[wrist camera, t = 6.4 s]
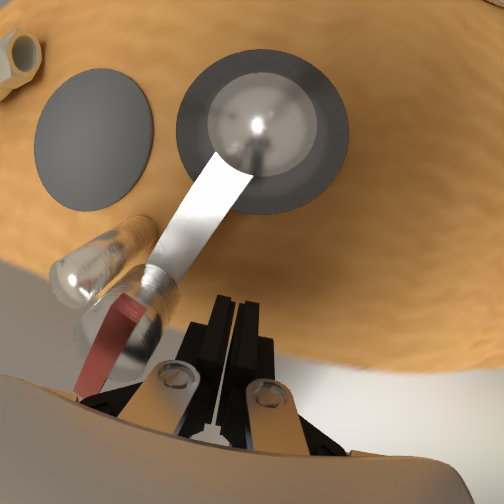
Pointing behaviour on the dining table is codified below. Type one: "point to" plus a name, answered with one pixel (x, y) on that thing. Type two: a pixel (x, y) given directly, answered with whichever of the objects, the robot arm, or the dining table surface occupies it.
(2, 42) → the valve
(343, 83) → the dining table surface
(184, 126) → the crank housing
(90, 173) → the mat
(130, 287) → the crank
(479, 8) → the dining table surface
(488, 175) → the dining table surface
